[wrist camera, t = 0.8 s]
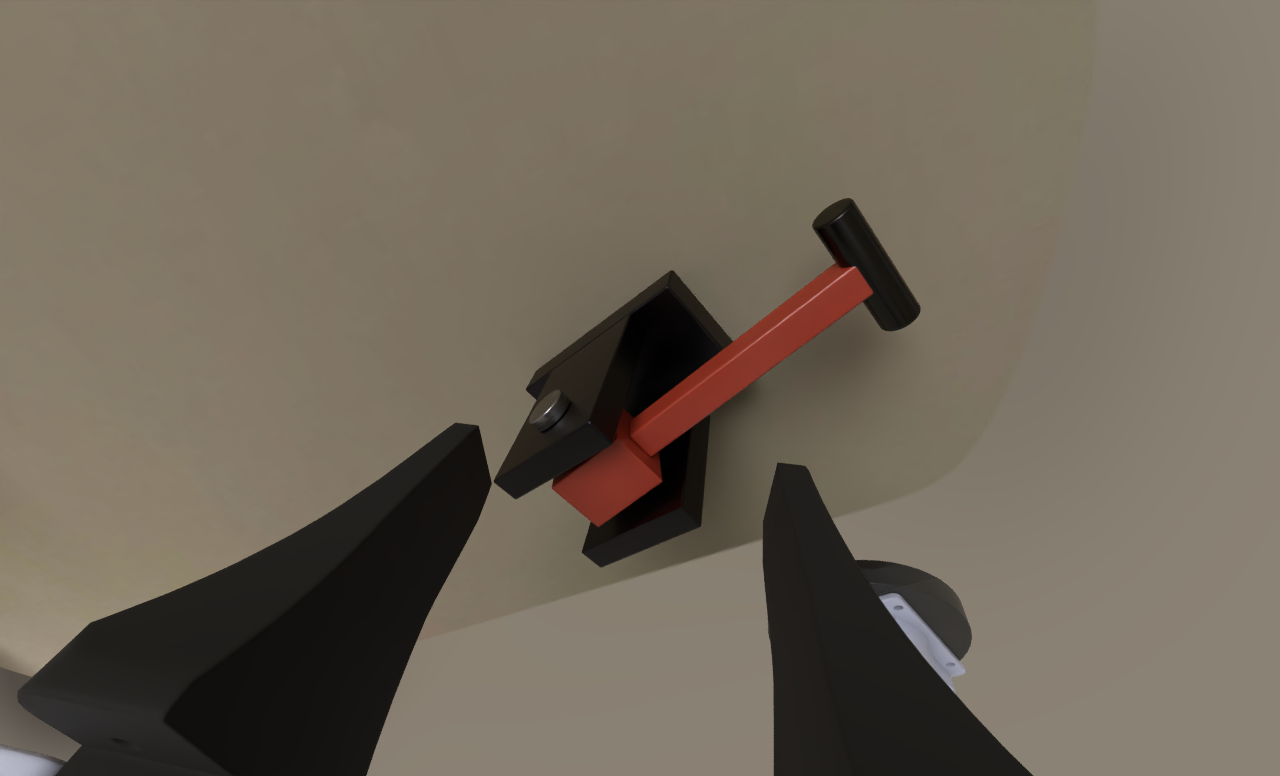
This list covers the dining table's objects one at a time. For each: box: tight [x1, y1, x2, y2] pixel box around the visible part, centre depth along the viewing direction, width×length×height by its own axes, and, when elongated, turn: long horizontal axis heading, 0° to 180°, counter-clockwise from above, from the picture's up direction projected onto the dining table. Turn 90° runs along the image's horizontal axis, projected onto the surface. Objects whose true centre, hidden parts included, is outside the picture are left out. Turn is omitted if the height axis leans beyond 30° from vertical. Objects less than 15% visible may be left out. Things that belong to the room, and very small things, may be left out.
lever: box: [552, 198, 920, 527], centre depth 16 cm, size 12×4×2 cm, turn 131°
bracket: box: [494, 271, 733, 567], centre depth 19 cm, size 8×6×8 cm
